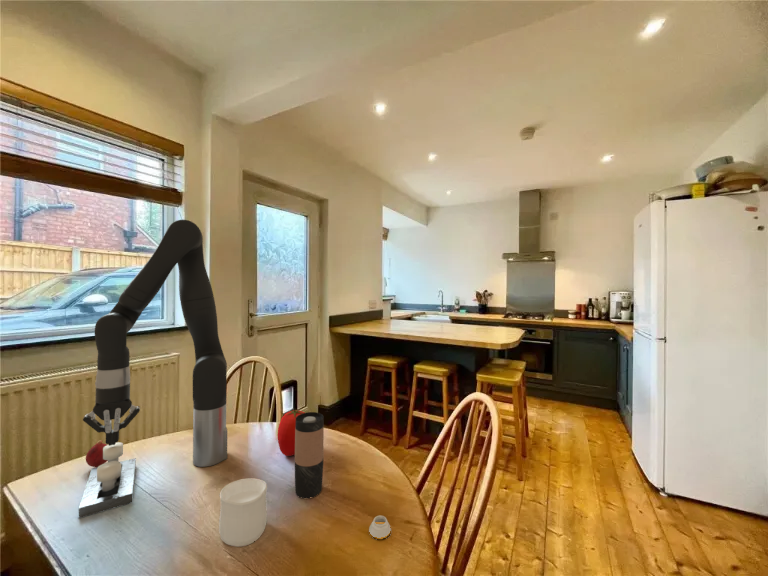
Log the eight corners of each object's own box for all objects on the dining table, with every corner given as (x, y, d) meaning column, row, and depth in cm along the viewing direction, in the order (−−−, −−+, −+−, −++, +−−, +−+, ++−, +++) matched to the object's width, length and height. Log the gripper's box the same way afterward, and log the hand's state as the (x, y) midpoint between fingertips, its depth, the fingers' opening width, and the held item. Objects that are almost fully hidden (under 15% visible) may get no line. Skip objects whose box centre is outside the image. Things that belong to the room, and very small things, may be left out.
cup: (265, 543, 71) (266, 499, 71) (214, 554, 68) (214, 507, 68) (267, 513, 80) (268, 474, 80) (222, 521, 77) (223, 480, 77)
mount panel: (135, 465, 99) (135, 458, 99) (132, 502, 83) (132, 493, 83) (91, 476, 93) (91, 468, 93) (78, 518, 77) (78, 508, 77)
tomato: (299, 440, 117) (299, 401, 117) (321, 450, 110) (322, 408, 110) (268, 455, 107) (269, 412, 107) (291, 467, 100) (291, 421, 100)
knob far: (123, 460, 96) (123, 441, 96) (122, 467, 93) (122, 447, 92) (103, 465, 94) (104, 445, 94) (101, 472, 90) (102, 451, 90)
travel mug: (328, 486, 91) (329, 414, 91) (311, 502, 84) (312, 425, 84) (306, 479, 94) (307, 410, 94) (288, 494, 87) (289, 419, 87)
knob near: (120, 481, 86) (120, 459, 86) (118, 489, 83) (118, 467, 83) (98, 486, 84) (98, 464, 84) (95, 496, 80) (95, 472, 80)
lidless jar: (364, 533, 74) (380, 545, 71) (364, 520, 74) (380, 531, 71) (379, 521, 78) (395, 532, 75) (379, 509, 78) (395, 519, 75)
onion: (96, 474, 95) (96, 446, 95) (80, 471, 96) (80, 444, 96) (116, 463, 100) (116, 437, 100) (101, 461, 102) (101, 435, 101)
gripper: (142, 376, 99) (141, 433, 100) (84, 383, 92) (82, 444, 92) (142, 383, 93) (141, 443, 94) (79, 390, 86) (78, 456, 86)
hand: (112, 444), depth 93 cm, fingers closed
